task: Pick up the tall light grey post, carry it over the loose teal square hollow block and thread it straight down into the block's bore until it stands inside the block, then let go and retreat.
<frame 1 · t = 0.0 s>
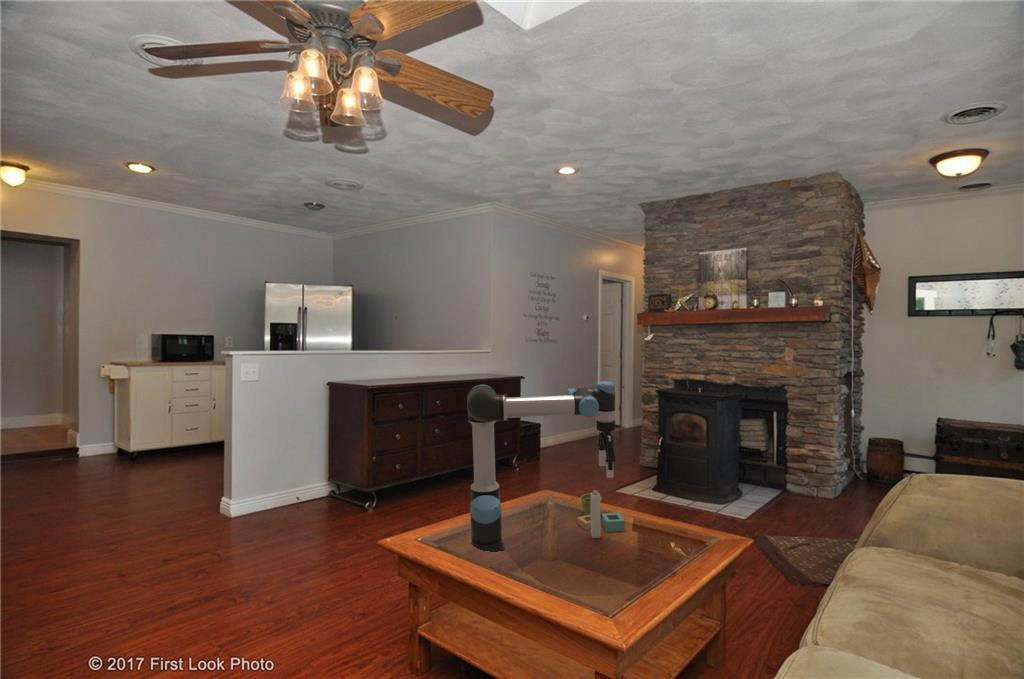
hand: (606, 471, 225), 28 cm above the table, fingers open, 13 cm apart
plant pot: (591, 516, 249), on the table
light grey post: (595, 536, 230), on the table
teal square hollow block: (613, 527, 237), on the table
beige square hollow block: (588, 525, 240), on the table
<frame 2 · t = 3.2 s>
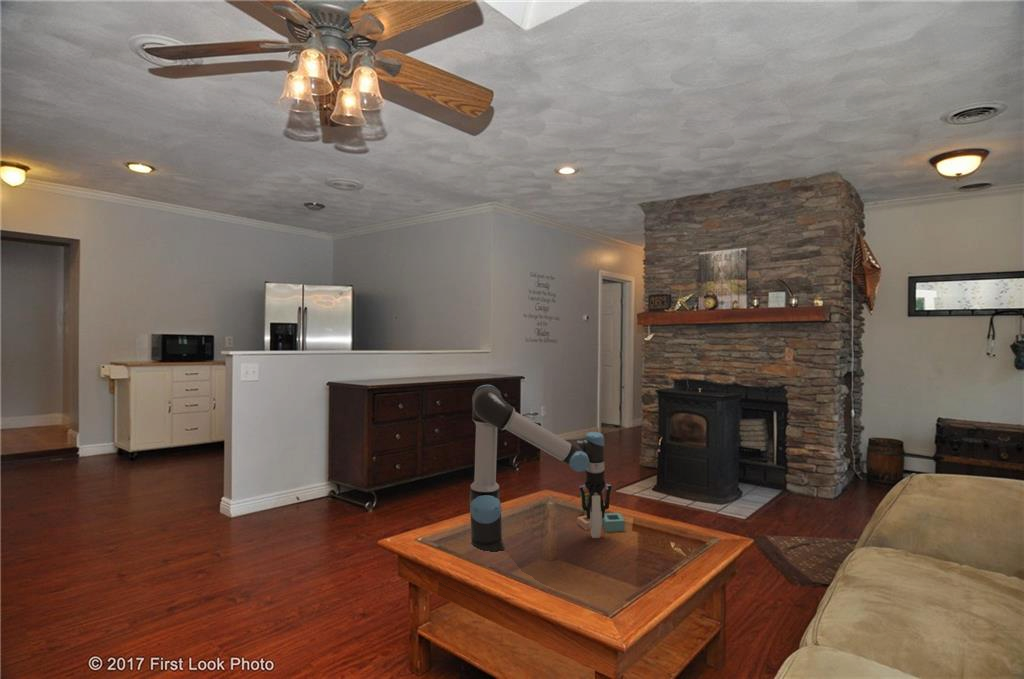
hand: (595, 525, 229), 5 cm above the table, fingers closed on light grey post, 3 cm apart
light grey post: (595, 536, 230), on the table, touching gripper
everything else where it was.
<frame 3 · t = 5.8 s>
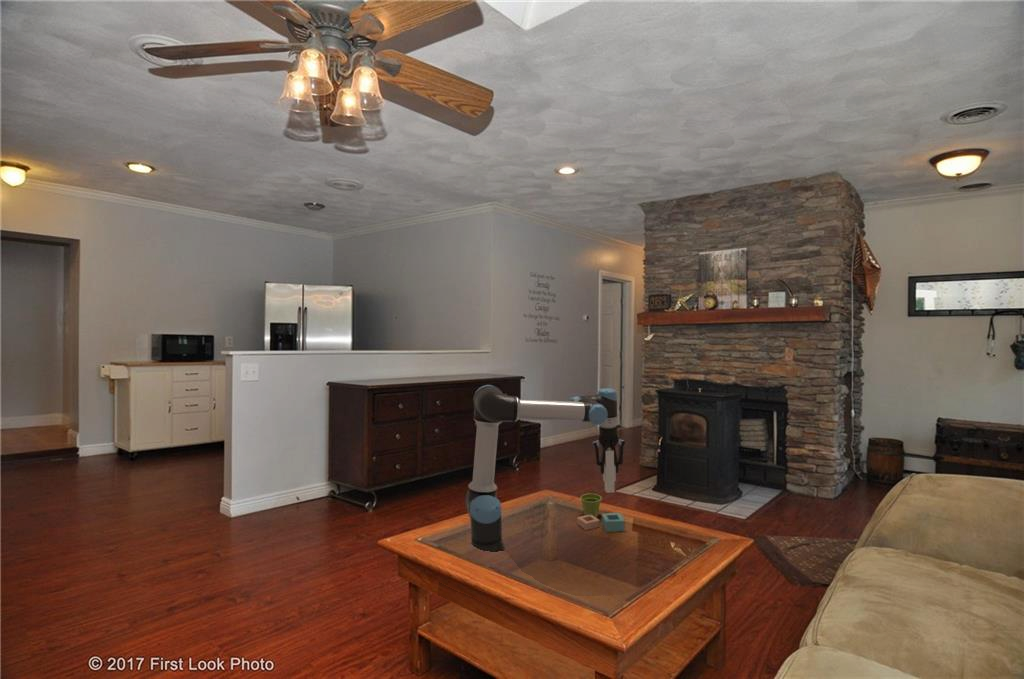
hand: (609, 480, 233), 22 cm above the table, fingers closed on light grey post, 3 cm apart
light grey post: (609, 491, 233), point 17 cm above the table, touching gripper
everything else where it was.
when the fingers open (7 cm above the table, at t = 8.5 s): light grey post drops 3 cm, resting in teal square hollow block.
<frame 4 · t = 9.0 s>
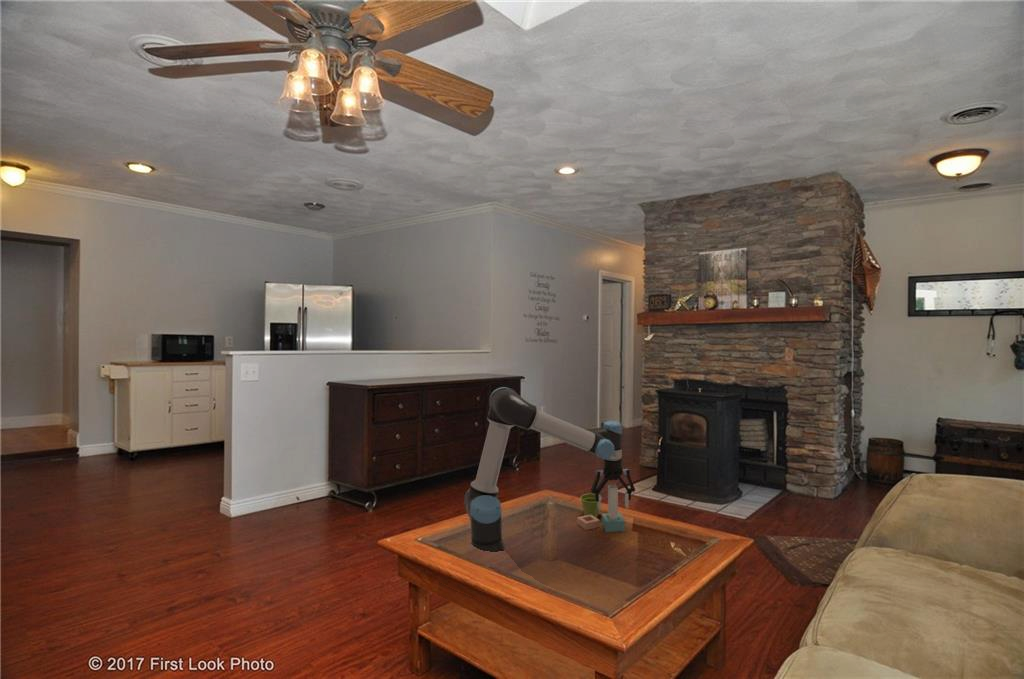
hand: (612, 508, 236), 9 cm above the table, fingers open, 11 cm apart
light grey post: (613, 527, 237), resting in teal square hollow block
everything else where it was.
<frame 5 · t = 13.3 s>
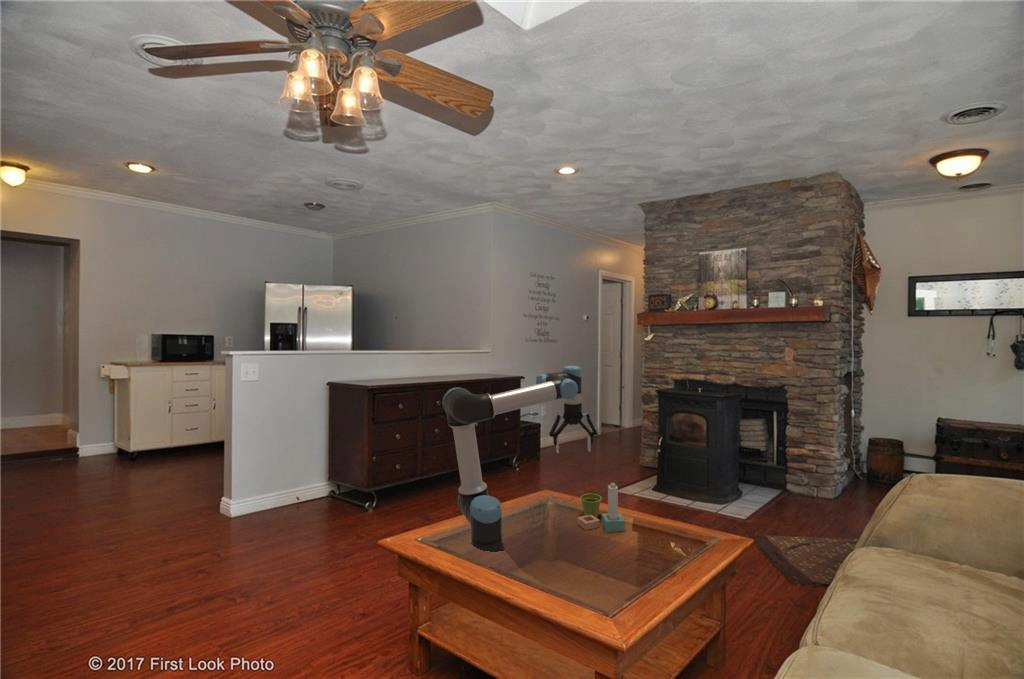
hand: (573, 451, 237), 33 cm above the table, fingers open, 13 cm apart
nothing on the table moved.
at the end: light grey post 0.0 cm off-centre on the teal square hollow block, point 0.0 cm above the teal square hollow block's base; light grey post tilted 0°; the gripper is holding nothing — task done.
